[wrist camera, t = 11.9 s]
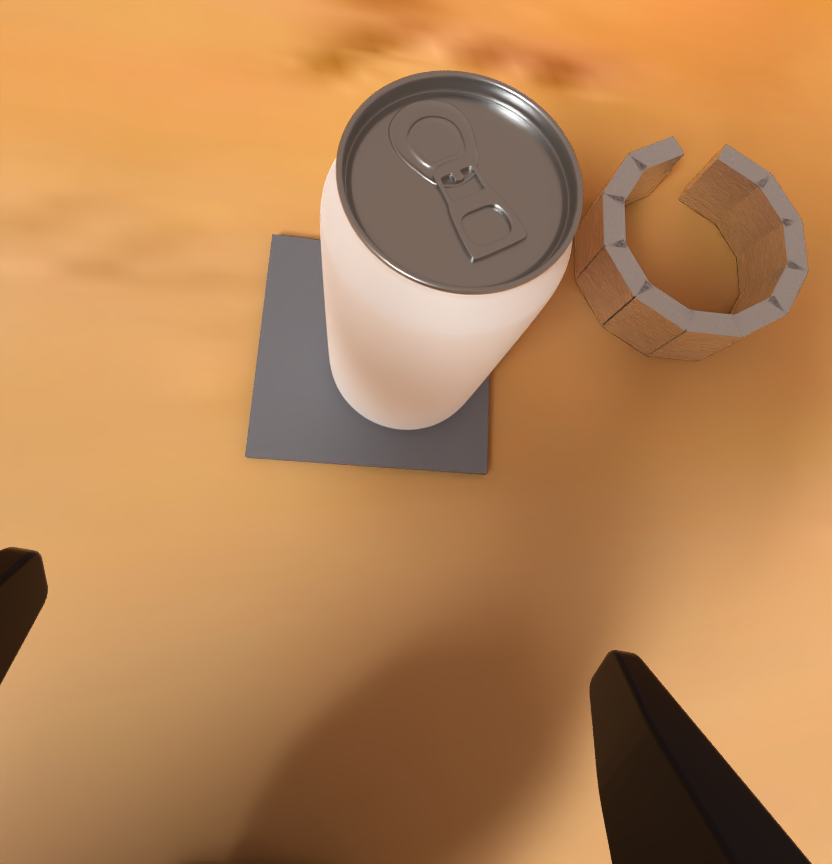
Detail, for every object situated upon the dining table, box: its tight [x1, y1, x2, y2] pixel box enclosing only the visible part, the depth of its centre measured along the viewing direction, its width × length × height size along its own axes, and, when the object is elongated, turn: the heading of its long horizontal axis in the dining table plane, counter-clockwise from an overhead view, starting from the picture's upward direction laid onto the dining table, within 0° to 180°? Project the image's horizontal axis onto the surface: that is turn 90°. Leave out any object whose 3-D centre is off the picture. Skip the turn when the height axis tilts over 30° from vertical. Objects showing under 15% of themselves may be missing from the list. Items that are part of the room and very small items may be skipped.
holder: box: [574, 136, 808, 361], centre depth 25 cm, size 10×10×3 cm
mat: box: [245, 234, 489, 475], centre depth 24 cm, size 10×10×1 cm
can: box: [320, 71, 583, 430], centre depth 18 cm, size 6×6×12 cm
